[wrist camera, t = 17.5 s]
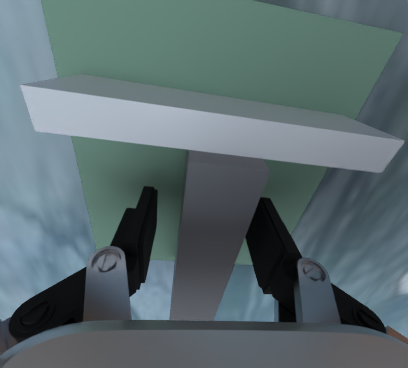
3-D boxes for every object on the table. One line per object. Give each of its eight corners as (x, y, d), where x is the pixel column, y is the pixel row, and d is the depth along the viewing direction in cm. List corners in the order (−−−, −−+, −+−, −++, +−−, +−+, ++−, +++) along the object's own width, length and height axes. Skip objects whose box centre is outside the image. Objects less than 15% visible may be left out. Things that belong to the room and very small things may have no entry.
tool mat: (396, 34, 10) (403, 33, 9) (272, 262, 19) (273, 266, 19) (37, -44, 8) (30, -49, 7) (100, 252, 17) (98, 256, 17)
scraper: (342, 114, 11) (430, 151, 7) (266, 261, 19) (287, 322, 14) (80, 73, 10) (-7, 89, 5) (110, 252, 17) (83, 318, 13)
